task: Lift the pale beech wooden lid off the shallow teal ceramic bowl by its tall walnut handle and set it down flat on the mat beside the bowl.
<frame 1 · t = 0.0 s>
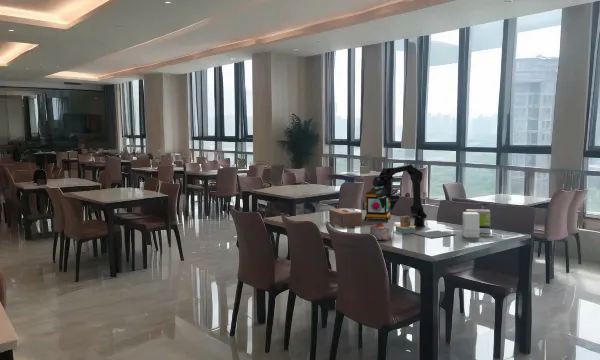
hand: (387, 209, 327), 15 cm above the table, tool pointing down, fingers open, 9 cm apart
food item: (379, 239, 301), on the table
lid: (405, 227, 323), point 3 cm above the table, touching bowl
tea box: (477, 232, 318), on the table
decorative lantern: (377, 220, 371), on the table
mat: (434, 234, 311), on the table
supplement box: (470, 236, 305), on the table
bowl: (405, 231, 323), on the table
tissue box cover: (345, 224, 355), on the table
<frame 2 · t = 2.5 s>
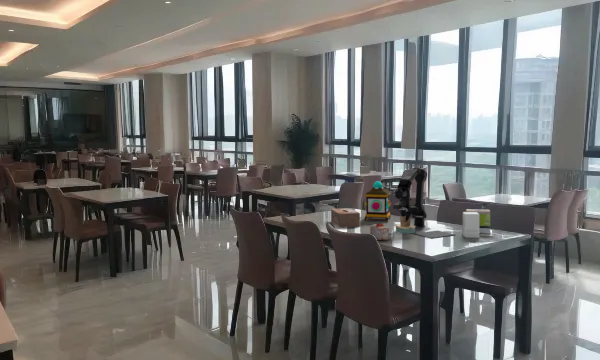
hand: (405, 220, 322), 8 cm above the table, tool pointing down, fingers closed on lid, 3 cm apart
lid: (405, 227, 323), point 3 cm above the table, touching bowl, gripper
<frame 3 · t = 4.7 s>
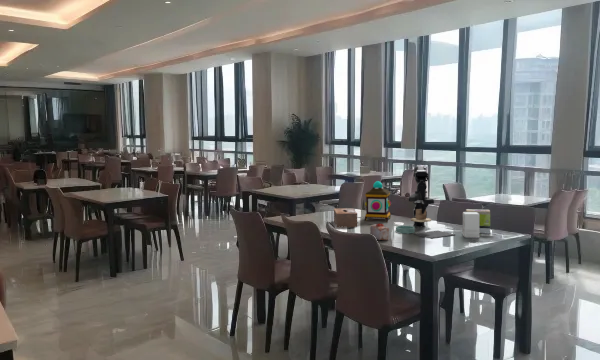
hand: (421, 213, 315), 13 cm above the table, tool pointing down, fingers closed on lid, 3 cm apart
lid: (420, 220, 315), point 9 cm above the table, touching gripper
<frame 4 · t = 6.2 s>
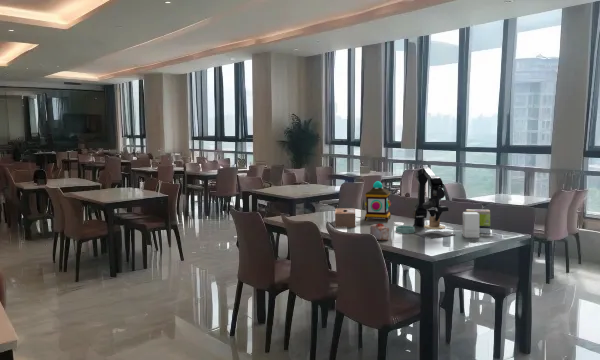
hand: (434, 220, 310), 9 cm above the table, tool pointing down, fingers closed on lid, 3 cm apart
lid: (434, 227, 311), point 5 cm above the table, touching gripper
when the fingers open (6 cm above the table, at t = 7.3 s): lid drops 1 cm, resting on mat.
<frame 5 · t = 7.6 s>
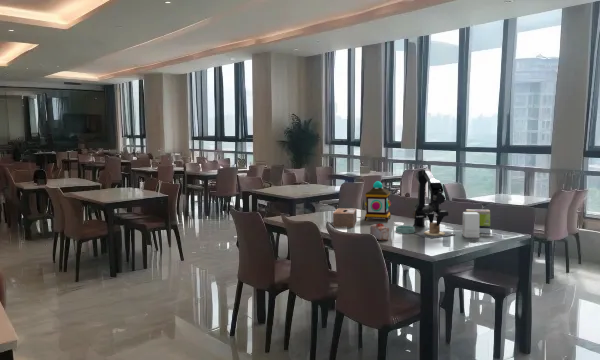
hand: (434, 225, 310), 6 cm above the table, tool pointing down, fingers open, 6 cm apart
lid: (434, 233, 311), point 1 cm above the table, touching mat
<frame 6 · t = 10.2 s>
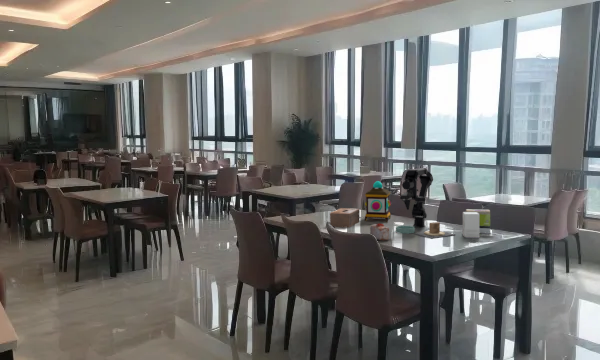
hand: (412, 210, 331), 13 cm above the table, tool pointing down, fingers open, 9 cm apart
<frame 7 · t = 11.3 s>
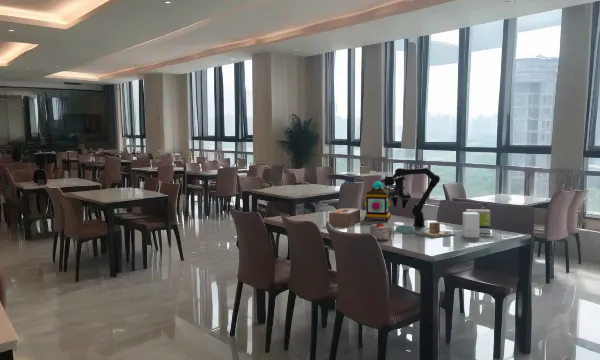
hand: (399, 207, 344), 13 cm above the table, tool pointing down, fingers open, 9 cm apart
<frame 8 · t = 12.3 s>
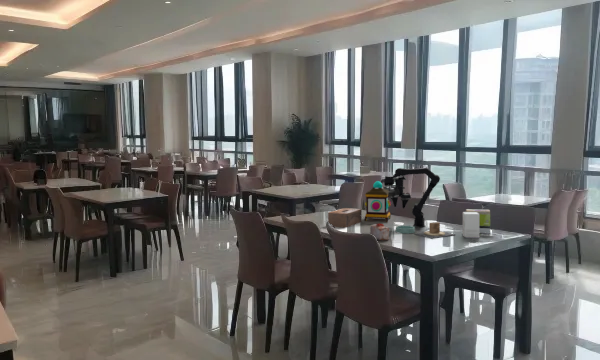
hand: (399, 207, 344), 13 cm above the table, tool pointing down, fingers open, 9 cm apart
at the end: lid inside the target area on the mat (0.1 cm from its centre), point 0.6 cm above the mat's base; lid tilted 0°; lid touching mat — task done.
